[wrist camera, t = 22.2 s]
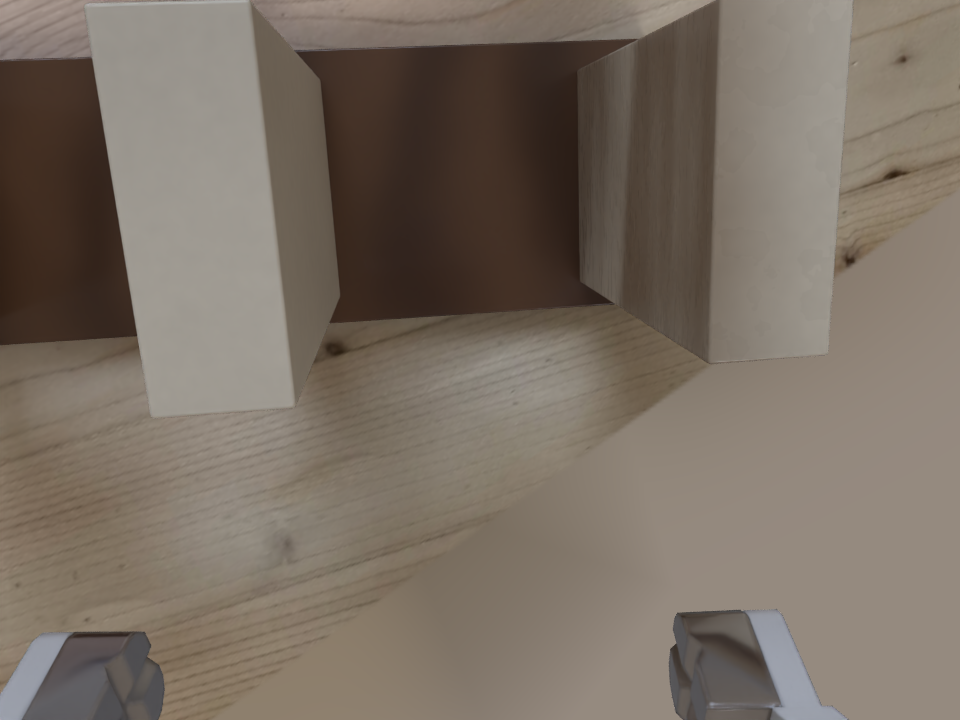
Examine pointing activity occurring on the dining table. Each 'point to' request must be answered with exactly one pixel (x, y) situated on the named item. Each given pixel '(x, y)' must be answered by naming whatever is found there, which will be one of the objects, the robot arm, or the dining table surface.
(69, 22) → the dining table surface
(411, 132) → the wooden book rack
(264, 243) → the white book
